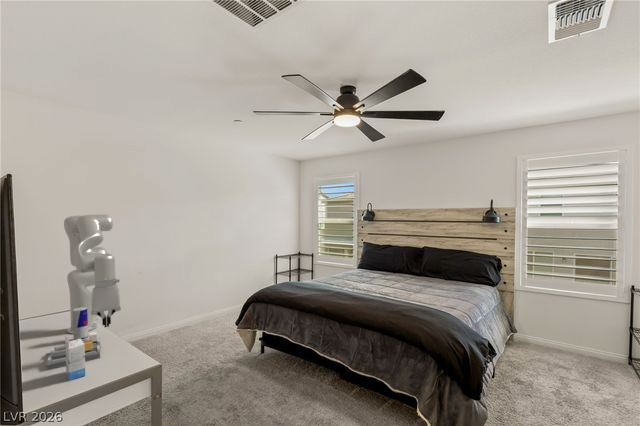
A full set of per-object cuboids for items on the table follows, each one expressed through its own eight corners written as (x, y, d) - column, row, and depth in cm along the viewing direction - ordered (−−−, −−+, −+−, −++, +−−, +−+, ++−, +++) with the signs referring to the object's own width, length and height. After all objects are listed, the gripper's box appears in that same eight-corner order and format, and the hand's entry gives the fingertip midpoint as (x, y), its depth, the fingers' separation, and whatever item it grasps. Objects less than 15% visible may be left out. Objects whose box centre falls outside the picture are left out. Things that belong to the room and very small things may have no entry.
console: (52, 352, 139) (52, 345, 139) (100, 342, 148) (99, 336, 148) (46, 370, 122) (46, 362, 122) (100, 358, 132) (99, 350, 132)
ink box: (85, 376, 117) (84, 336, 117) (69, 381, 114) (67, 340, 114) (82, 368, 123) (81, 330, 123) (65, 373, 120) (64, 334, 120)
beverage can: (80, 342, 149) (79, 310, 149) (70, 341, 150) (69, 310, 150) (91, 337, 155) (90, 307, 154) (81, 337, 156) (80, 306, 156)
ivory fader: (89, 341, 144) (89, 332, 144) (97, 340, 146) (96, 331, 145) (89, 344, 140) (89, 335, 140) (97, 343, 142) (96, 334, 142)
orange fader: (84, 350, 135) (84, 340, 135) (92, 348, 136) (92, 339, 136) (84, 353, 131) (83, 344, 131) (92, 351, 133) (92, 342, 133)
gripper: (124, 280, 145) (126, 320, 144) (84, 285, 136) (85, 328, 136) (126, 282, 139) (127, 324, 138) (83, 288, 130) (84, 332, 130)
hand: (106, 326), depth 137 cm, fingers closed
